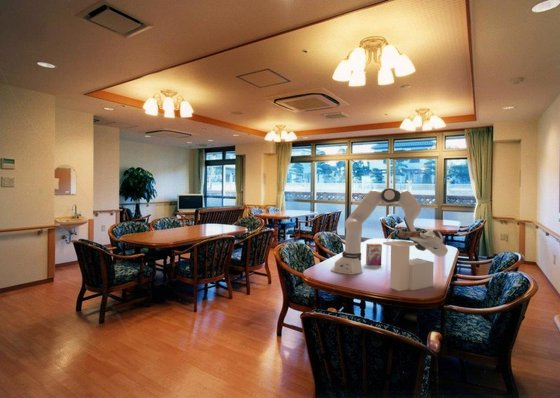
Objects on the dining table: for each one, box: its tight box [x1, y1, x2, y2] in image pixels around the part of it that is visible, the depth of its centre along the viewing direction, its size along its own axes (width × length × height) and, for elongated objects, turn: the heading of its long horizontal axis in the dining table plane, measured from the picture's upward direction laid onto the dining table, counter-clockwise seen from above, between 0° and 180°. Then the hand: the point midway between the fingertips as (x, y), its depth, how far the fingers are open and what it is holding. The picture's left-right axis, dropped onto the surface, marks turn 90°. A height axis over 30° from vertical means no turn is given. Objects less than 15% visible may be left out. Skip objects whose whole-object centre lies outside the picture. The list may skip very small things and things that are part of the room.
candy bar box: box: [365, 243, 383, 266], centre depth 253 cm, size 11×5×16 cm, turn 92°
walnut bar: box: [398, 230, 424, 239], centre depth 197 cm, size 18×3×3 cm, turn 118°
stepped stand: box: [382, 240, 435, 292], centre depth 197 cm, size 31×12×28 cm, turn 118°
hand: (416, 233), depth 199 cm, fingers closed on walnut bar, 3 cm apart
